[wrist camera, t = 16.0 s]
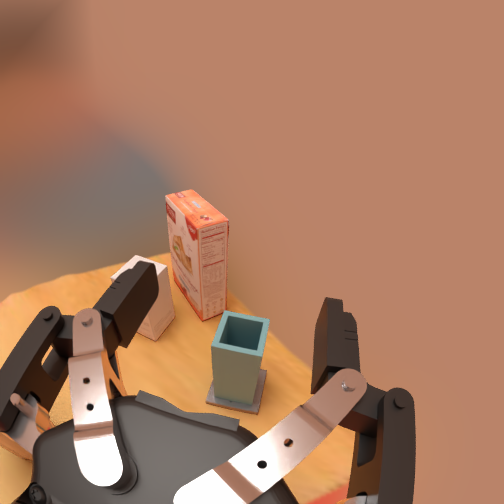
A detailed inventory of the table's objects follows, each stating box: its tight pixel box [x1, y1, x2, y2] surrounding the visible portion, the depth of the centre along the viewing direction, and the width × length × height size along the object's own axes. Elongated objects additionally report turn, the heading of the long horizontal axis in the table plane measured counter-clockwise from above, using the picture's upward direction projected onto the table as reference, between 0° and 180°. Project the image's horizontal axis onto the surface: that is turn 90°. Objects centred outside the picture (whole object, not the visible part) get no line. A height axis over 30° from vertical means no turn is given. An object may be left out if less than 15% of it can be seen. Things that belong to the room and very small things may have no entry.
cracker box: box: [166, 190, 229, 321], centre depth 51 cm, size 14×6×21 cm, turn 35°
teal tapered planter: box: [211, 310, 270, 405], centre depth 35 cm, size 6×6×14 cm
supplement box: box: [111, 255, 175, 341], centre depth 46 cm, size 7×7×13 cm
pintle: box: [206, 369, 267, 415], centre depth 38 cm, size 8×8×8 cm
